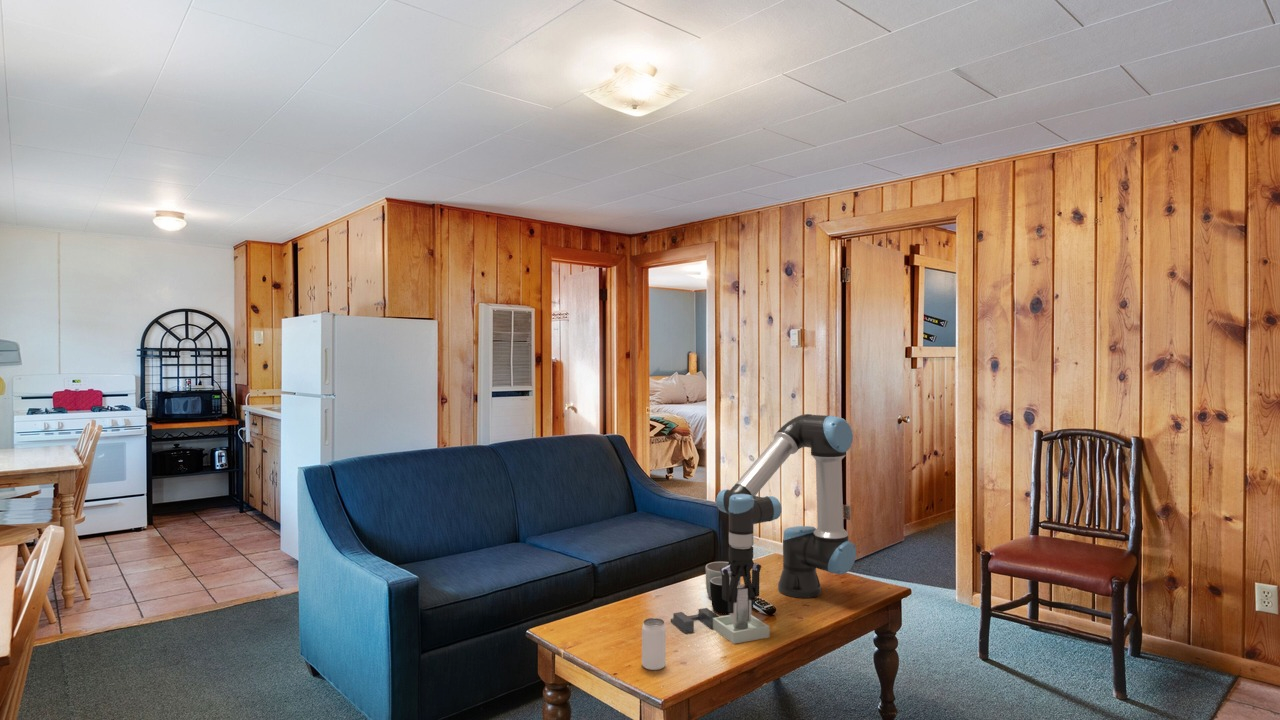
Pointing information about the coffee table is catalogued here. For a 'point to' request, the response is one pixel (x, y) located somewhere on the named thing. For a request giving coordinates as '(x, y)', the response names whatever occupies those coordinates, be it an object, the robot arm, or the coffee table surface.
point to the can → (653, 644)
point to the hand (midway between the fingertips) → (740, 621)
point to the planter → (715, 573)
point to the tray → (740, 635)
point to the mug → (718, 596)
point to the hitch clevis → (687, 622)
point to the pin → (742, 607)
